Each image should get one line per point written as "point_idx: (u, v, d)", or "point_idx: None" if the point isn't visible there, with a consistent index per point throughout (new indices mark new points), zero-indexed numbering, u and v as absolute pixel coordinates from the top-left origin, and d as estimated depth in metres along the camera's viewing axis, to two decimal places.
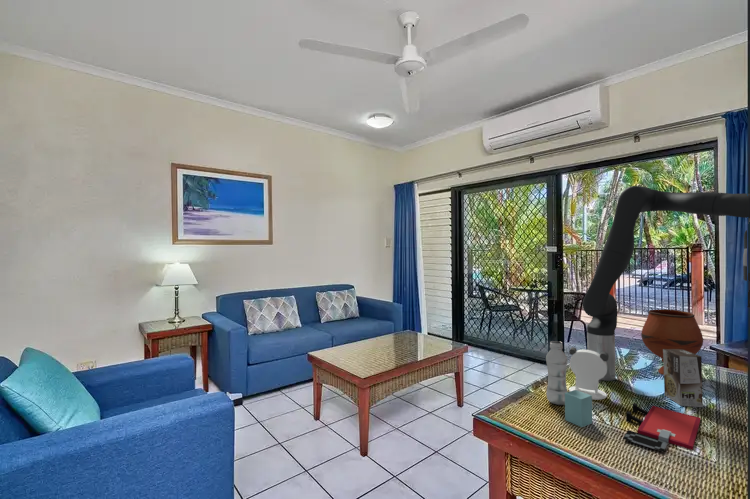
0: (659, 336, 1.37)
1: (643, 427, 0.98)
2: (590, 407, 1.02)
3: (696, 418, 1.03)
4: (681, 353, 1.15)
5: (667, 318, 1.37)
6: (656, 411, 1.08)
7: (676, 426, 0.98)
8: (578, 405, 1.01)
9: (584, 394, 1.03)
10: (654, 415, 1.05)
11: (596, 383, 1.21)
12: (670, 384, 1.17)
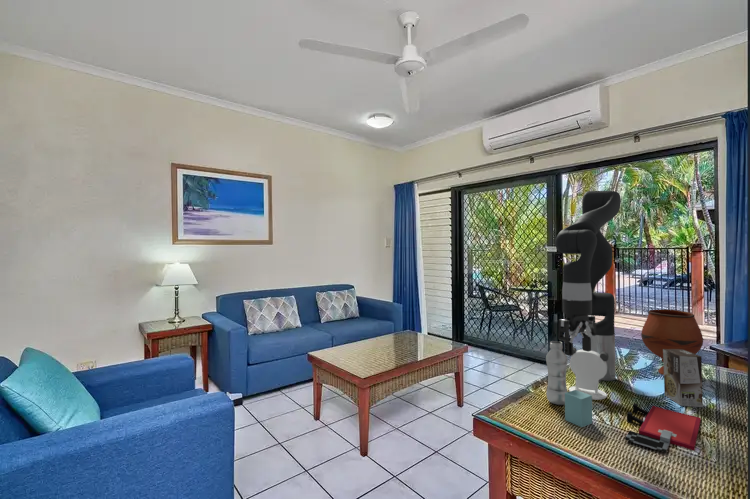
0: (659, 336, 1.37)
1: (644, 427, 0.97)
2: (590, 407, 1.02)
3: (696, 418, 1.03)
4: (681, 353, 1.15)
5: (667, 318, 1.37)
6: (656, 411, 1.07)
7: (677, 426, 0.98)
8: (578, 405, 1.01)
9: (584, 394, 1.03)
10: (654, 415, 1.05)
11: (596, 383, 1.21)
12: (670, 384, 1.17)
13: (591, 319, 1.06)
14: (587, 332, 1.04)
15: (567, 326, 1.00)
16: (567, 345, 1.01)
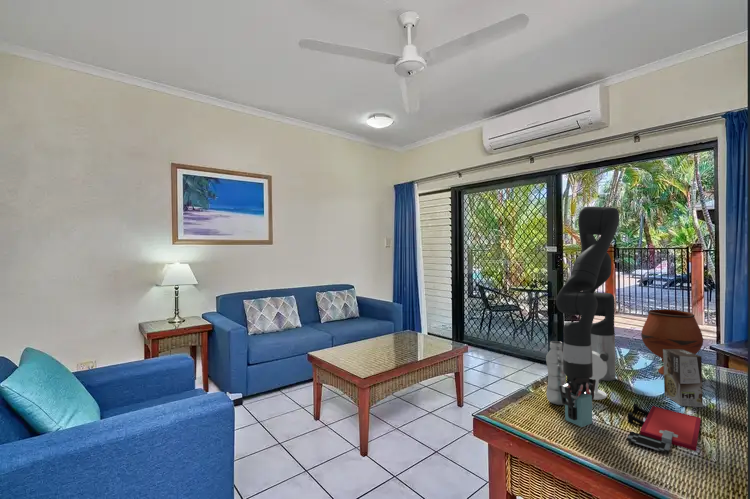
0: (659, 336, 1.37)
1: (645, 428, 0.97)
2: (590, 407, 1.02)
3: (696, 418, 1.03)
4: (681, 353, 1.15)
5: (667, 318, 1.37)
6: (656, 411, 1.07)
7: (678, 427, 0.98)
8: (578, 405, 1.01)
9: (584, 394, 1.04)
10: (655, 415, 1.05)
11: (596, 383, 1.21)
12: (670, 384, 1.17)
13: (591, 382, 1.05)
14: None
15: (569, 393, 1.00)
16: (571, 409, 1.02)
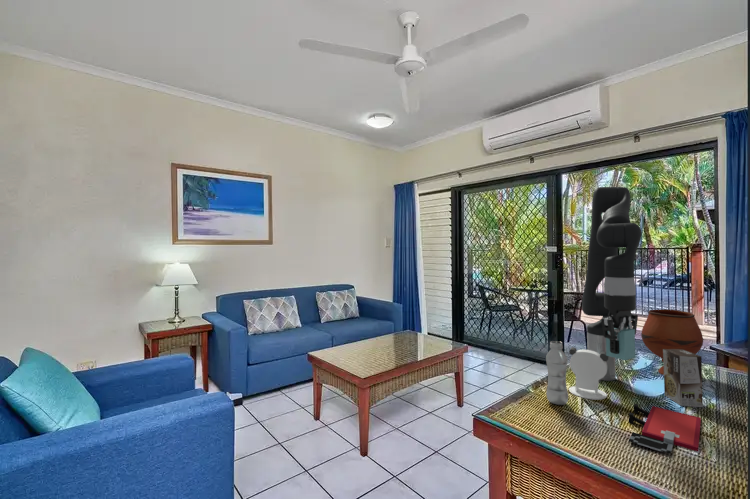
0: (659, 336, 1.37)
1: (647, 429, 0.97)
2: (633, 341, 1.00)
3: (696, 418, 1.03)
4: (681, 353, 1.15)
5: (667, 318, 1.37)
6: (657, 411, 1.07)
7: (679, 427, 0.98)
8: (621, 338, 0.99)
9: (626, 328, 1.01)
10: (655, 416, 1.04)
11: (596, 383, 1.21)
12: (670, 384, 1.17)
13: (633, 317, 1.03)
14: None
15: (611, 325, 0.98)
16: (613, 343, 1.00)
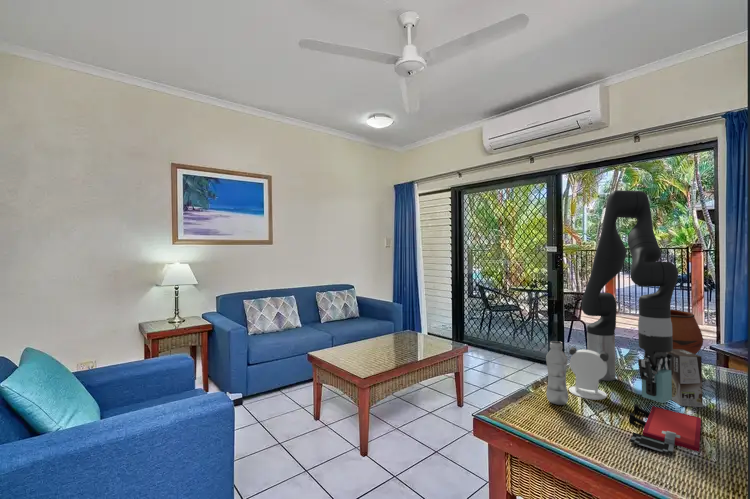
0: None
1: (648, 429, 0.96)
2: (670, 382, 0.98)
3: (697, 418, 1.03)
4: (681, 353, 1.15)
5: None
6: (657, 412, 1.07)
7: (679, 427, 0.98)
8: (658, 380, 0.96)
9: (662, 369, 0.99)
10: (656, 416, 1.04)
11: (596, 383, 1.21)
12: None
13: (668, 357, 1.01)
14: None
15: (649, 367, 0.95)
16: (650, 385, 0.97)
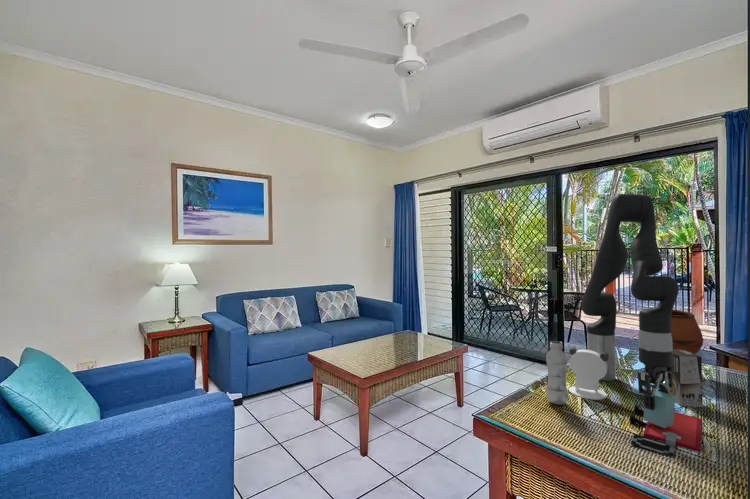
0: None
1: (648, 430, 0.96)
2: (672, 408, 0.98)
3: (697, 419, 1.03)
4: (681, 353, 1.15)
5: None
6: None
7: (680, 428, 0.98)
8: (662, 404, 0.96)
9: (666, 394, 0.99)
10: None
11: (596, 383, 1.21)
12: None
13: (669, 369, 1.01)
14: (665, 384, 0.99)
15: (648, 380, 0.95)
16: (648, 399, 0.97)
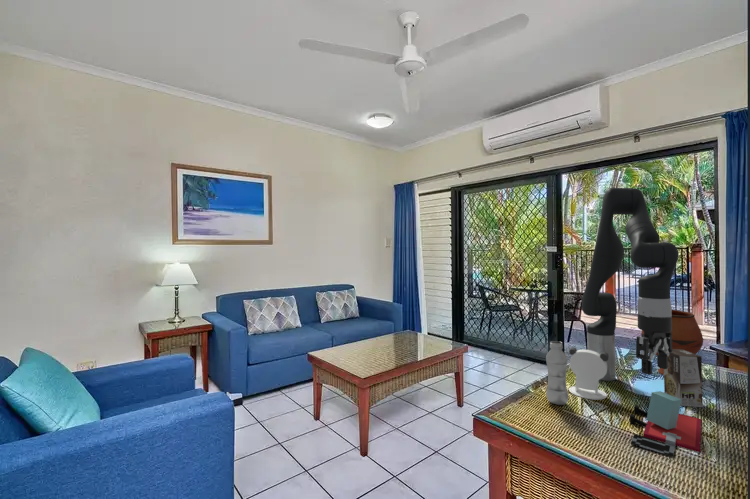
0: None
1: (648, 430, 0.96)
2: (678, 411, 0.97)
3: (697, 419, 1.03)
4: (681, 353, 1.15)
5: None
6: None
7: (680, 428, 0.98)
8: (668, 406, 0.96)
9: (673, 397, 0.98)
10: None
11: (596, 383, 1.21)
12: (670, 384, 1.17)
13: (668, 335, 1.01)
14: (664, 349, 0.99)
15: (647, 344, 0.95)
16: (646, 363, 0.97)
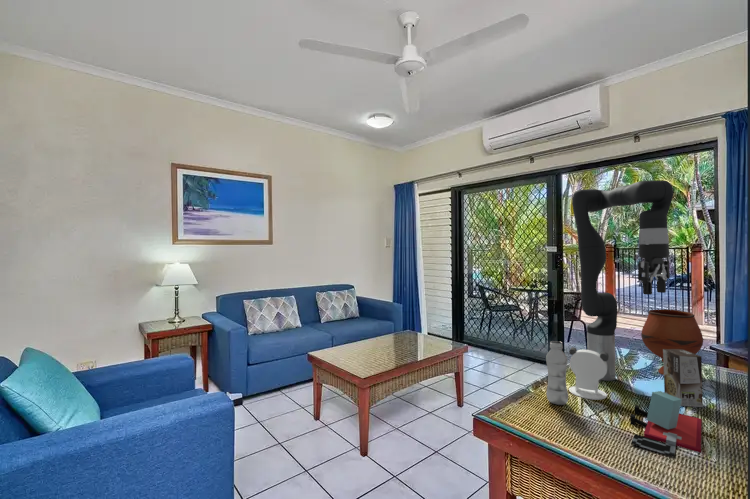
0: (659, 336, 1.37)
1: (649, 430, 0.96)
2: (678, 411, 0.97)
3: (697, 419, 1.03)
4: (681, 353, 1.15)
5: (667, 318, 1.37)
6: None
7: (680, 428, 0.97)
8: (668, 406, 0.96)
9: (673, 397, 0.98)
10: None
11: (596, 383, 1.21)
12: (670, 384, 1.17)
13: (665, 263, 1.15)
14: (663, 274, 1.13)
15: (647, 267, 1.09)
16: (646, 285, 1.10)
